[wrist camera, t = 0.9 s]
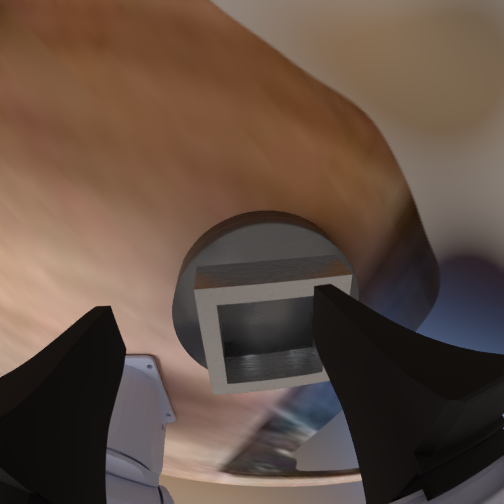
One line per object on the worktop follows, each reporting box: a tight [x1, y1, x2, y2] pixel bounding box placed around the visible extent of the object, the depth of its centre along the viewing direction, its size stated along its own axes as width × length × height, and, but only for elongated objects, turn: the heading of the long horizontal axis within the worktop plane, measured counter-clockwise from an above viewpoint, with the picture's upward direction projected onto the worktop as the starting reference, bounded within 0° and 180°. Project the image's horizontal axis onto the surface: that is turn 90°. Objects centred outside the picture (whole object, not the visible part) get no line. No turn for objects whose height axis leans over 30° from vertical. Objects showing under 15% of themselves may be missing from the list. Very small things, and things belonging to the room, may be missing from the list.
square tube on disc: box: [172, 211, 359, 395], centre depth 19 cm, size 12×12×6 cm
